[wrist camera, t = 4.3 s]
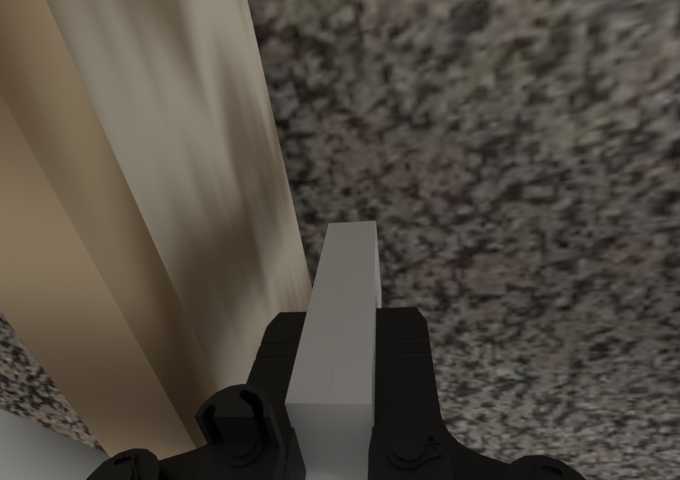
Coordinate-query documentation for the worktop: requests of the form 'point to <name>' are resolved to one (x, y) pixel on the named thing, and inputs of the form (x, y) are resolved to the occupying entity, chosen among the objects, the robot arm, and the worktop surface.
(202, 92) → the gate
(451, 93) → the worktop surface
